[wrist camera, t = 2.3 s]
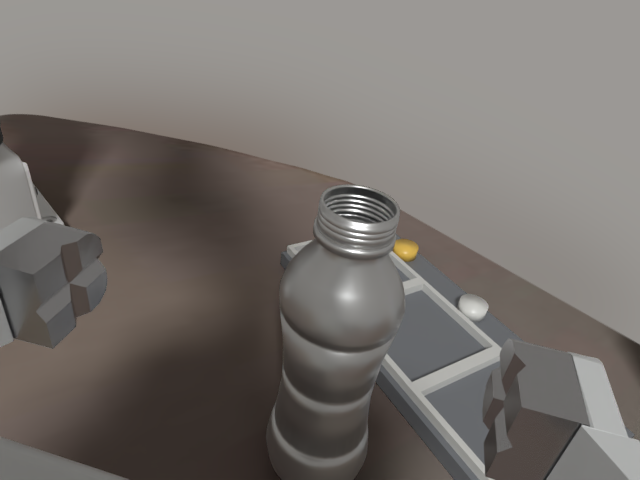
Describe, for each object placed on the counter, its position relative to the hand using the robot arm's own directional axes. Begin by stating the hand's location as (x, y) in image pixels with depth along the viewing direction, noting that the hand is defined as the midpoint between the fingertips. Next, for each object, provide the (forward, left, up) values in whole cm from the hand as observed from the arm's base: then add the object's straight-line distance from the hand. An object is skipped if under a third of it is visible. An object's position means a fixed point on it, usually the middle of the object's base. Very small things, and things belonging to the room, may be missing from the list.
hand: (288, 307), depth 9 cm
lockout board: (-14, +24, -24) cm, 36 cm away
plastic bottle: (-9, +9, -24) cm, 27 cm away
